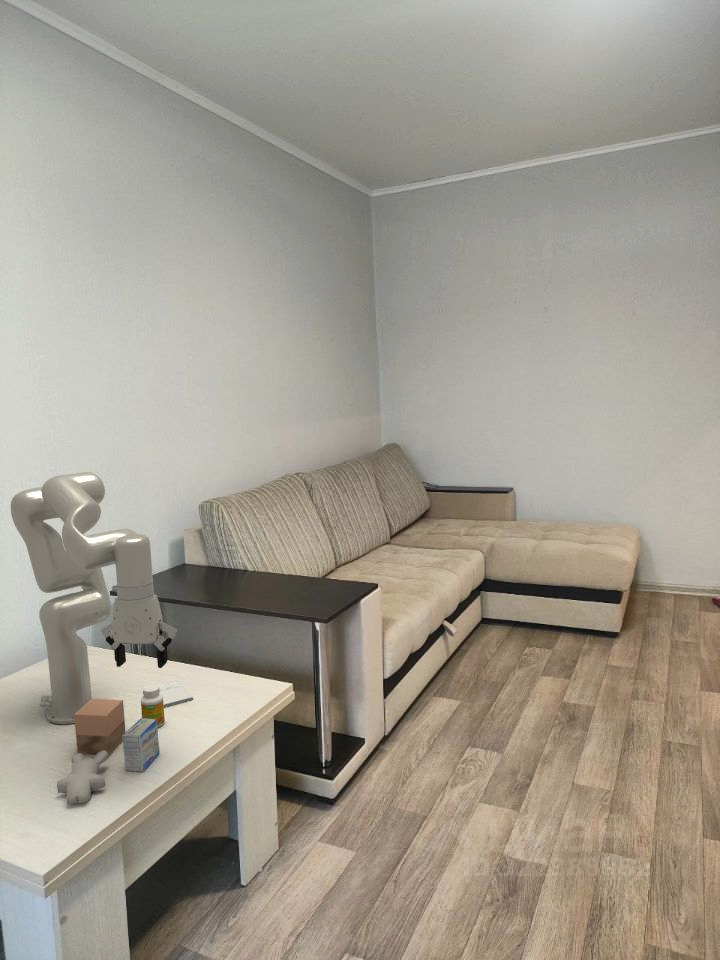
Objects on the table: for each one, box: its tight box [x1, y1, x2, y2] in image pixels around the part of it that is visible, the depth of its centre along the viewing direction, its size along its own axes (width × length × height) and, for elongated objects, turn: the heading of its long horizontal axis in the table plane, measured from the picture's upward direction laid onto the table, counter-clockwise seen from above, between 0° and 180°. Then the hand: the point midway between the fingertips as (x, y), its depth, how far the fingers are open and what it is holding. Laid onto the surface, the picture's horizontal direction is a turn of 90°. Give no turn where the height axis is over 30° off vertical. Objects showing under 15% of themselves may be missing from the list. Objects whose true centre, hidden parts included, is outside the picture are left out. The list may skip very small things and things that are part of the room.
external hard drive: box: [158, 680, 194, 709], centre depth 190 cm, size 2×8×12 cm
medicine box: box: [122, 718, 161, 773], centre depth 156 cm, size 8×4×9 cm, turn 168°
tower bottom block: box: [75, 719, 127, 757], centre depth 164 cm, size 8×8×5 cm
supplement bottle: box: [140, 684, 166, 729], centre depth 173 cm, size 5×5×10 cm
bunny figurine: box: [56, 751, 110, 805], centre depth 148 cm, size 10×5×15 cm
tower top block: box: [74, 698, 126, 736], centre depth 163 cm, size 8×8×5 cm
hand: (141, 665), depth 154 cm, fingers open, 9 cm apart
